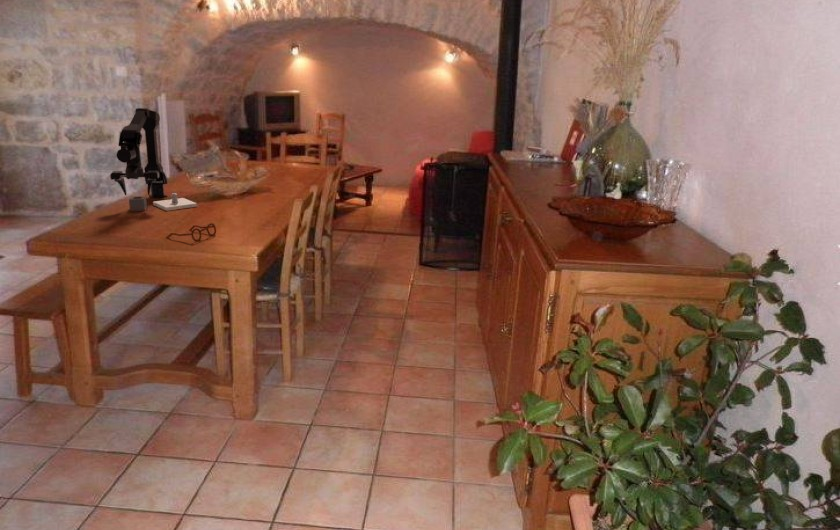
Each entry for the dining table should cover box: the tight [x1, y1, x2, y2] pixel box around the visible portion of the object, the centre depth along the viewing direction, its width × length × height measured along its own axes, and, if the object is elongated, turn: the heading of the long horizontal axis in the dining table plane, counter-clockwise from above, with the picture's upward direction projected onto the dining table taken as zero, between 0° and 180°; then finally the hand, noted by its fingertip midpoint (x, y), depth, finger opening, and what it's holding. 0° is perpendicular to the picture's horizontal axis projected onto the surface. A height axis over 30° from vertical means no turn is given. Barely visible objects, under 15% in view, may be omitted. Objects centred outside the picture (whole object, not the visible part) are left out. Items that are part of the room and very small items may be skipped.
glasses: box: [165, 222, 217, 242], centre depth 240 cm, size 13×13×5 cm
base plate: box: [152, 192, 198, 212], centre depth 284 cm, size 14×14×6 cm
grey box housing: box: [128, 195, 148, 212], centre depth 276 cm, size 6×6×5 cm
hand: (137, 194), depth 275 cm, fingers open, 9 cm apart
